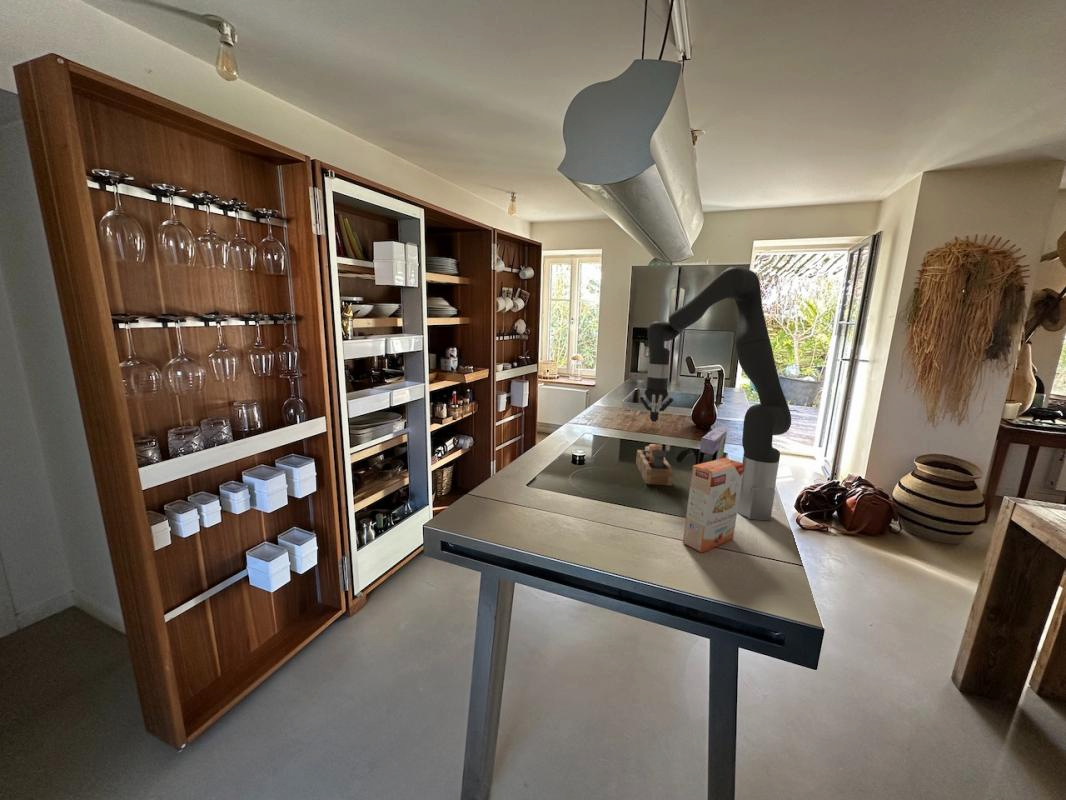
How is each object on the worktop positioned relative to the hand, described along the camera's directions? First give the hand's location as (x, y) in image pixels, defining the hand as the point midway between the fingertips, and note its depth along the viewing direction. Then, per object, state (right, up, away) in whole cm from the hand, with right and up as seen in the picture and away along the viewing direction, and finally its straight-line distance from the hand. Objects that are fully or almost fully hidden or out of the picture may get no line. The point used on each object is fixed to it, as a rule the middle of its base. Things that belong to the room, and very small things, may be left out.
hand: (653, 421), depth 159 cm
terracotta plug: (-1, -16, -4) cm, 17 cm away
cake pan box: (+17, -21, -8) cm, 29 cm away
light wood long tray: (-1, -19, -4) cm, 20 cm away
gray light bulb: (-2, -17, -11) cm, 20 cm away
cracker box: (-1, -28, -52) cm, 59 cm away
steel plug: (-1, -18, +3) cm, 18 cm away
